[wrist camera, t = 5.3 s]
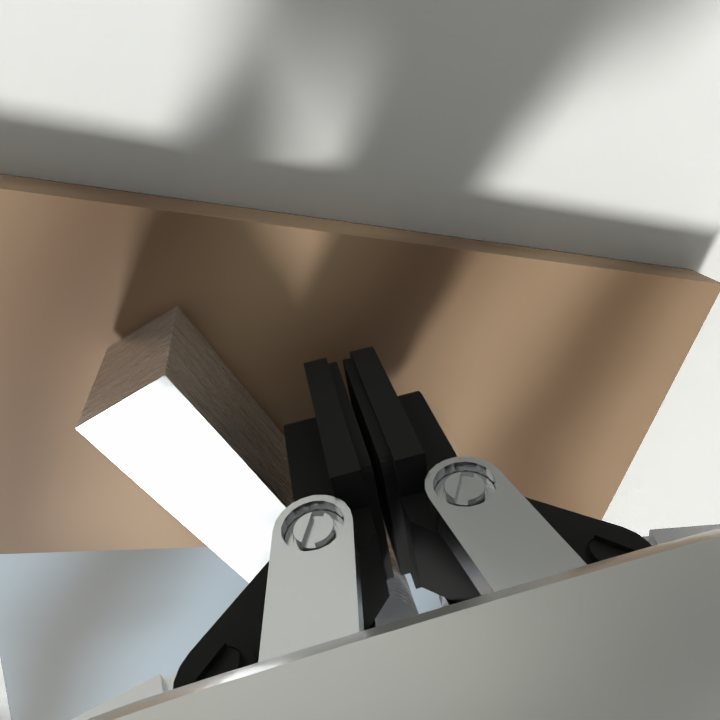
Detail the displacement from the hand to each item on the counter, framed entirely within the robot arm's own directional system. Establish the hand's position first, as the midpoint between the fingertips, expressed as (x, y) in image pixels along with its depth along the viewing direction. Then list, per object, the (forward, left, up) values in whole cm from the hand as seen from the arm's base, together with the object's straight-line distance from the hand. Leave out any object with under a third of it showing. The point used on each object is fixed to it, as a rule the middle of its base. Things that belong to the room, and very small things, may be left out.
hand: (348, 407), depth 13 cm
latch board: (-1, +6, -3) cm, 6 cm away
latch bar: (+1, +3, -1) cm, 3 cm away
